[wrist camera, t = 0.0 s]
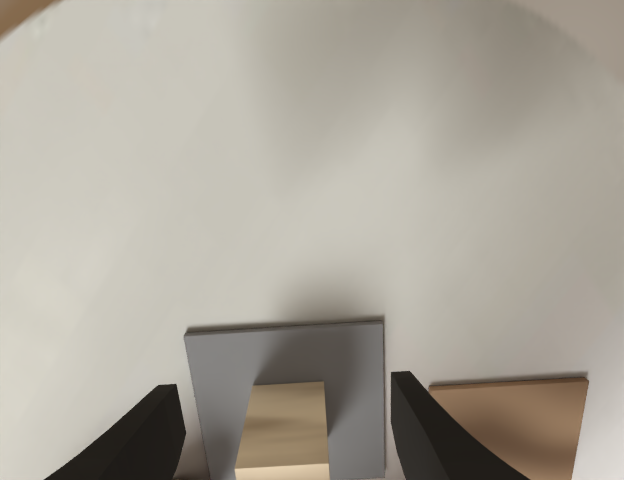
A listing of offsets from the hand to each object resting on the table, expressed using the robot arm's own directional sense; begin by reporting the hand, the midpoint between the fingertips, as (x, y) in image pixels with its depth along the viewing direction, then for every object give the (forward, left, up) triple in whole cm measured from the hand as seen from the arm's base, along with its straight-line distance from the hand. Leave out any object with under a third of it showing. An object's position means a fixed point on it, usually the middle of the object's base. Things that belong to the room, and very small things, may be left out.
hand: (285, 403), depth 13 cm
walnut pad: (-13, -13, -10) cm, 21 cm away
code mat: (-9, +1, -10) cm, 14 cm away
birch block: (-9, +1, -10) cm, 13 cm away
